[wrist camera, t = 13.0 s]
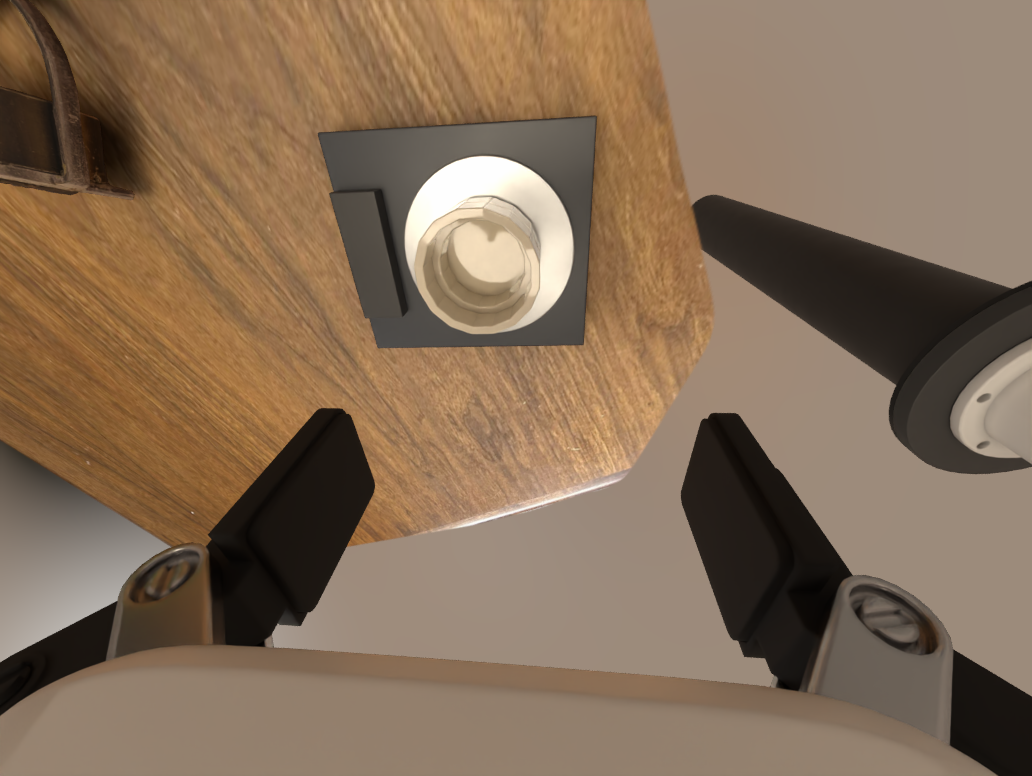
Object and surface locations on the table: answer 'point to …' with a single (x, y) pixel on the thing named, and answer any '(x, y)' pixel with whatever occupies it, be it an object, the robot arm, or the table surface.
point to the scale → (446, 183)
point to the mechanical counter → (51, 128)
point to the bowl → (479, 266)
